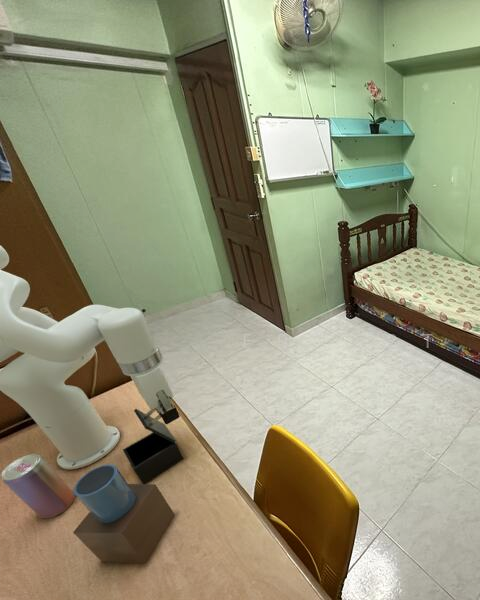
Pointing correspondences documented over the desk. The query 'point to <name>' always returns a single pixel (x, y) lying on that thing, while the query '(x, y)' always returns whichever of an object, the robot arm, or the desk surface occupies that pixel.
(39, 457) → the beverage can
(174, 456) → the wash box
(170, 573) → the desk surface
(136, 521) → the stand
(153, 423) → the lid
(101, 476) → the cup
